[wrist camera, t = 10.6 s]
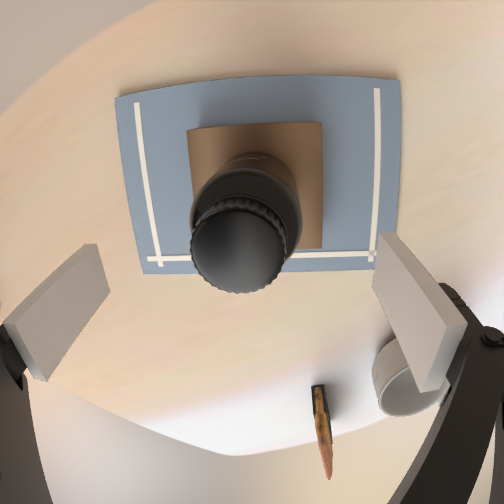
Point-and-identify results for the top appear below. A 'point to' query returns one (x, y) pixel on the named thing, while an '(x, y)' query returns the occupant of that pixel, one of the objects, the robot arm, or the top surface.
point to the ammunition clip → (323, 427)
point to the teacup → (400, 384)
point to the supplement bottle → (245, 223)
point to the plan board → (262, 111)
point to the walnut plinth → (277, 144)
